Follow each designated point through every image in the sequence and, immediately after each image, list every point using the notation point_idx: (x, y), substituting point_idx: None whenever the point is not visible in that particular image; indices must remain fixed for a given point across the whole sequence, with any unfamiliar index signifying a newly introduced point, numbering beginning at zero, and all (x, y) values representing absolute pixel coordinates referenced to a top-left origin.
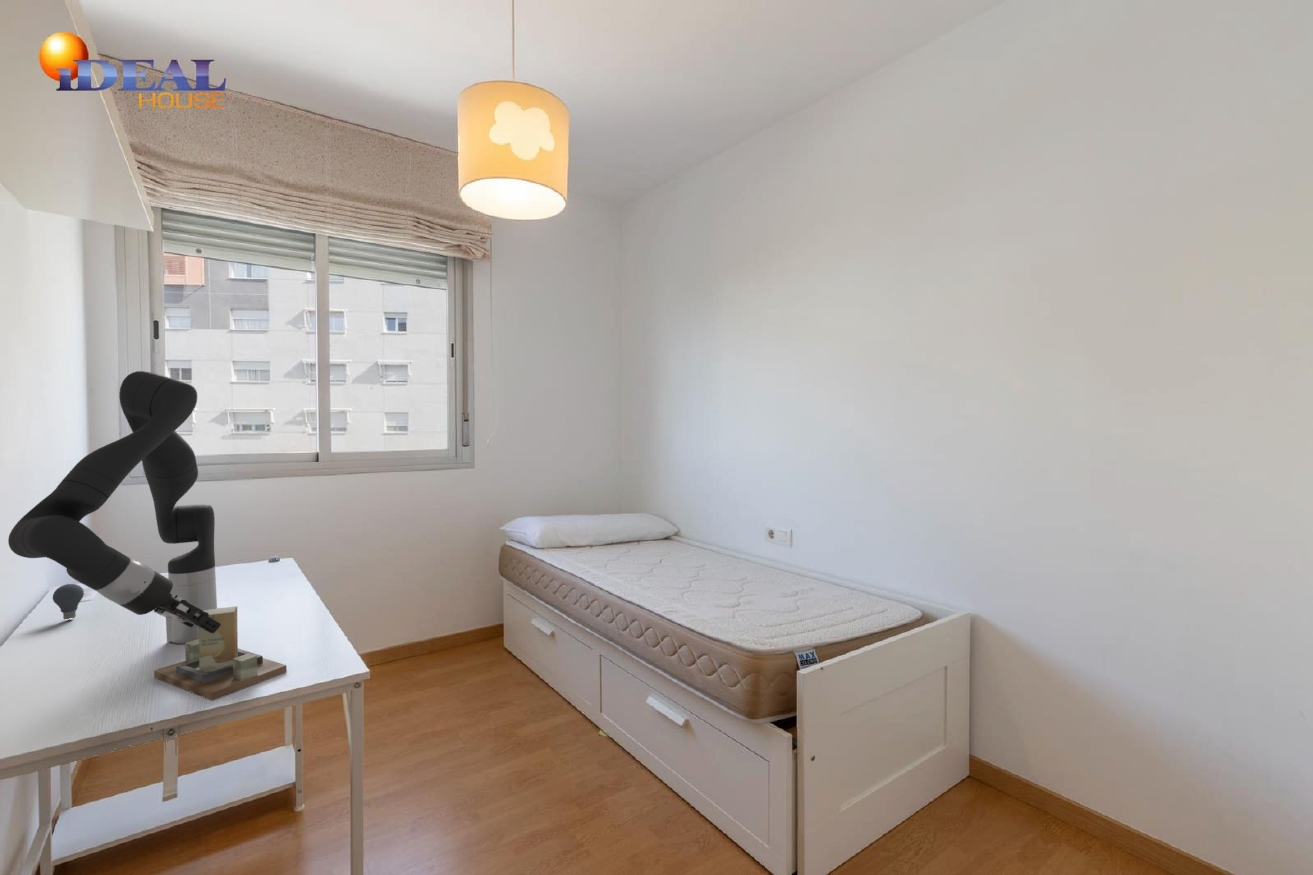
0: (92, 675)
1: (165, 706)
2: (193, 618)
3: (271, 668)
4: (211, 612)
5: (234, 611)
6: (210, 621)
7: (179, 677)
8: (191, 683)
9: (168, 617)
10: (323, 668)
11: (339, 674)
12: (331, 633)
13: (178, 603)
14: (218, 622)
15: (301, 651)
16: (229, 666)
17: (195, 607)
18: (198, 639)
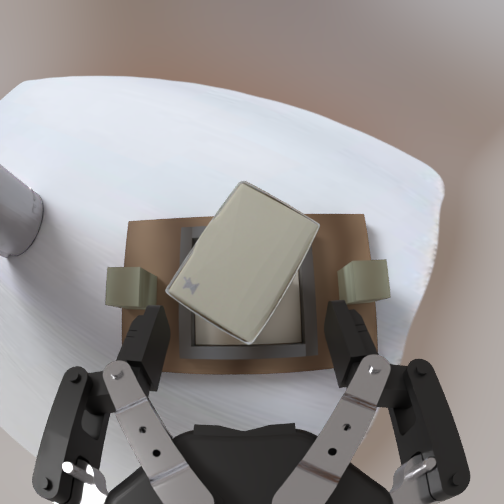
0: (38, 390)
1: (313, 418)
2: (159, 325)
3: (356, 237)
4: (248, 289)
5: (317, 222)
6: (370, 342)
7: (218, 366)
8: (285, 368)
9: (171, 435)
10: (392, 182)
11: (432, 188)
12: (231, 92)
13: (439, 501)
14: (346, 306)
15: (272, 151)
16: (308, 296)
17: (452, 425)
18: (109, 274)
